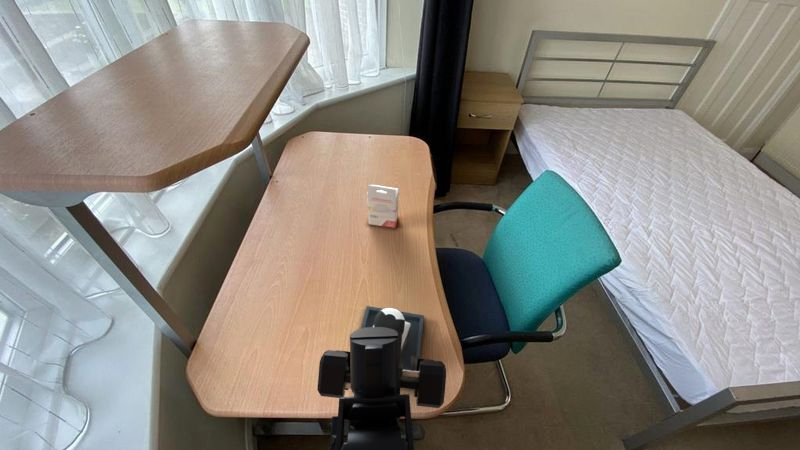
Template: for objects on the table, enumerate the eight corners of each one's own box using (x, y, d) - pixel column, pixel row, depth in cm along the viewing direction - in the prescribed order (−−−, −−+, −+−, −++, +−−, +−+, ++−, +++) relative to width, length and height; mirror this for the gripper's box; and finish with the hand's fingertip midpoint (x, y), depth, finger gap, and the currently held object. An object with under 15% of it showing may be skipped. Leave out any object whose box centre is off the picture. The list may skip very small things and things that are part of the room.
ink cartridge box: (398, 217, 101) (400, 179, 91) (395, 228, 98) (397, 190, 87) (371, 213, 102) (370, 175, 92) (367, 224, 99) (366, 186, 88)
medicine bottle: (397, 368, 68) (400, 342, 60) (366, 355, 70) (364, 329, 61) (409, 338, 73) (413, 310, 64) (380, 327, 75) (380, 298, 66)
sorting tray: (415, 389, 66) (415, 385, 64) (349, 377, 67) (348, 373, 65) (423, 320, 77) (424, 315, 75) (367, 311, 78) (366, 305, 76)
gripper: (456, 350, 41) (443, 315, 57) (310, 336, 42) (337, 305, 57) (448, 437, 41) (437, 378, 57) (303, 422, 42) (331, 368, 57)
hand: (385, 355), depth 57 cm, fingers open, 9 cm apart
